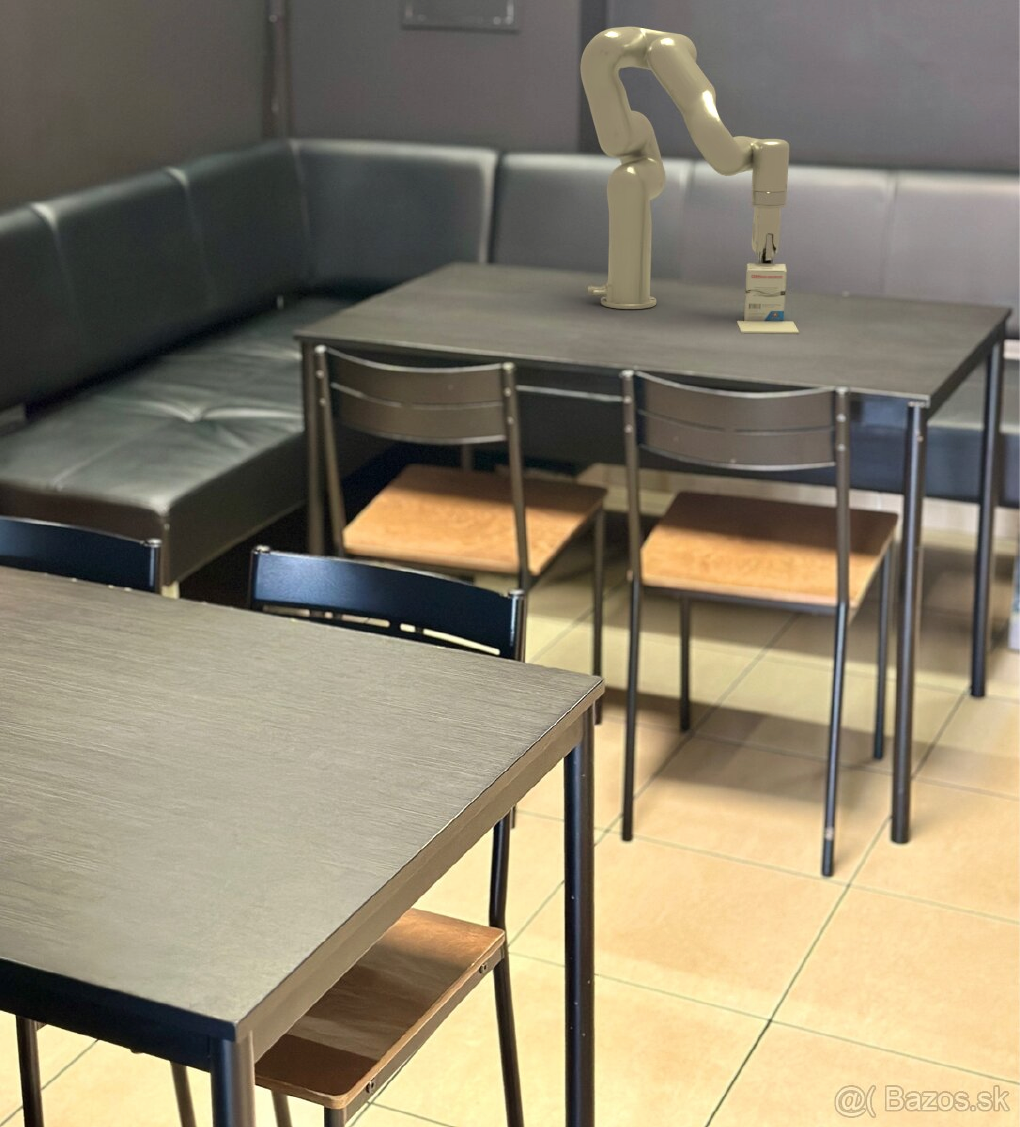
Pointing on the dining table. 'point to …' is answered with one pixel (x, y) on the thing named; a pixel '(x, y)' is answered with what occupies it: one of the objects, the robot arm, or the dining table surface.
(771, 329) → the mat
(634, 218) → the robot arm
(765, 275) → the ink box
